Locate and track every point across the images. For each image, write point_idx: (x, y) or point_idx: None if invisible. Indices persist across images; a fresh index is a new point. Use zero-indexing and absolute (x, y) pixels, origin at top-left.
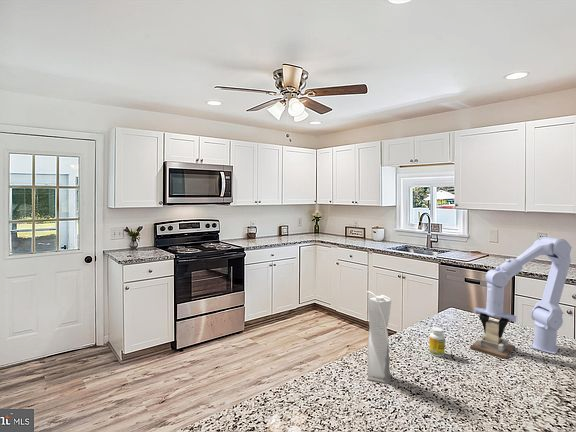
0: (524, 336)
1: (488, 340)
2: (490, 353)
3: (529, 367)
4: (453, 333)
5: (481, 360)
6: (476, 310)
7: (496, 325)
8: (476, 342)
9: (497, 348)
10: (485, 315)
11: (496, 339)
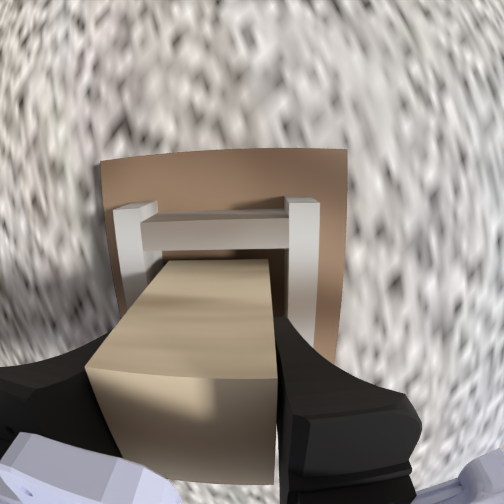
0: (183, 498)
1: (239, 267)
2: (195, 151)
3: (10, 163)
4: (468, 335)
5: (214, 16)
6: (489, 500)
7: (116, 365)
8: (335, 269)
9: (157, 216)
10: (315, 498)
11: (164, 278)
